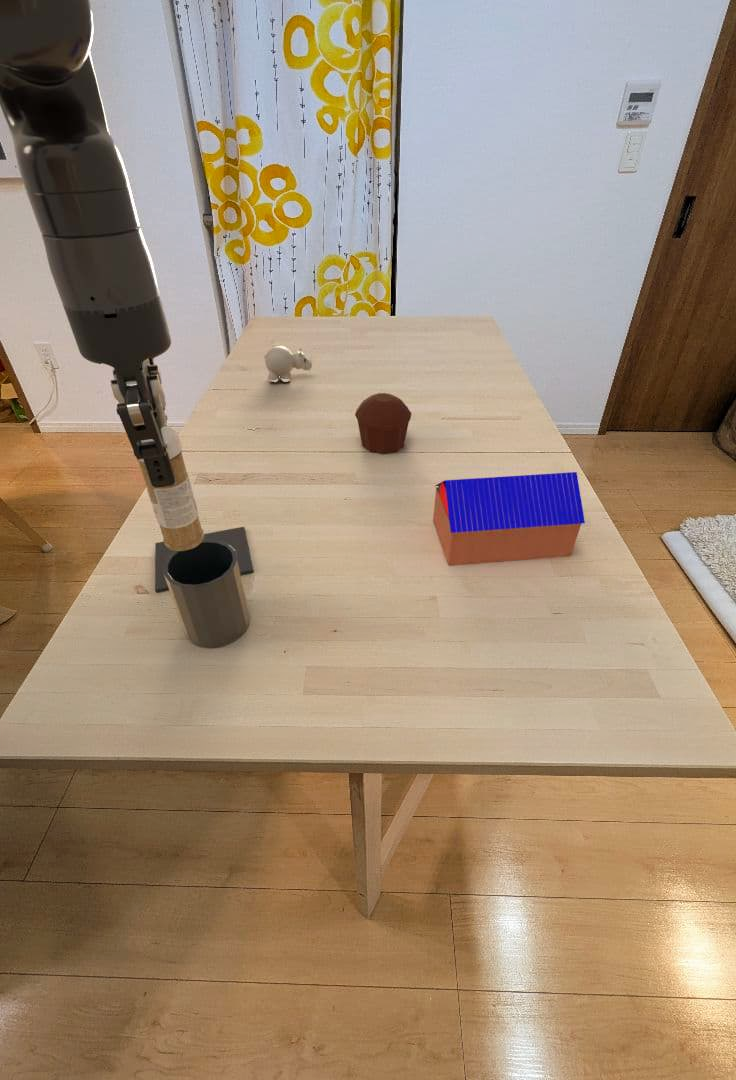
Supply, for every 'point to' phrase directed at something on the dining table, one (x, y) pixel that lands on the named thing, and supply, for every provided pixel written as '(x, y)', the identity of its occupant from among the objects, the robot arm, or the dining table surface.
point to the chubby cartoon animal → (285, 362)
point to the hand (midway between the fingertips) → (164, 470)
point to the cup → (208, 593)
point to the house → (508, 517)
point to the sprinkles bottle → (175, 500)
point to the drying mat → (230, 536)
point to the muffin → (383, 423)
